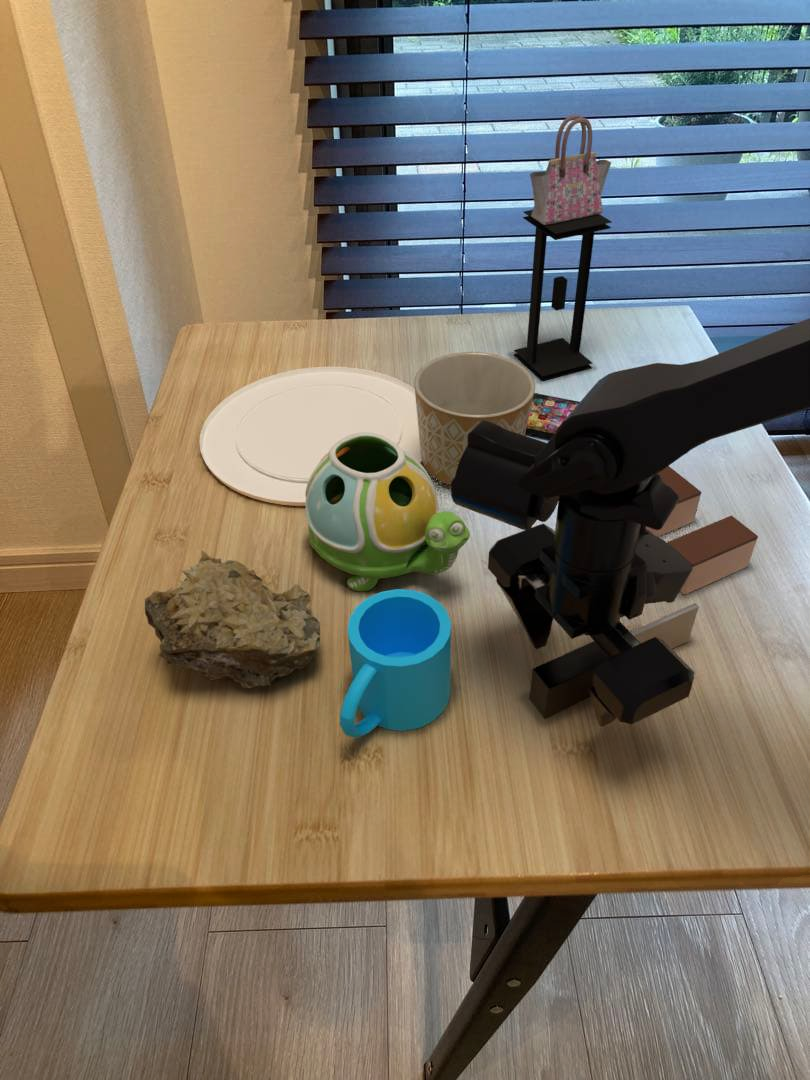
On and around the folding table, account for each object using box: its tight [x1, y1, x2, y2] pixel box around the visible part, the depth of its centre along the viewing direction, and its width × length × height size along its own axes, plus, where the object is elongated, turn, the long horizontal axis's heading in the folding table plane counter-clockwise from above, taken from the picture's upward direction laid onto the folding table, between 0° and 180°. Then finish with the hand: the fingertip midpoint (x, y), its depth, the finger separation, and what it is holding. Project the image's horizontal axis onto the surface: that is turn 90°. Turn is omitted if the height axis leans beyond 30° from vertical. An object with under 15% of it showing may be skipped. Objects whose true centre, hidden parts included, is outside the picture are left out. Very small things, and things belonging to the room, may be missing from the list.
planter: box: [413, 351, 536, 486], centre depth 92 cm, size 13×13×10 cm
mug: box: [339, 588, 452, 739], centre depth 68 cm, size 12×8×8 cm
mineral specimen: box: [144, 549, 321, 689], centre depth 73 cm, size 14×13×10 cm
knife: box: [528, 602, 700, 720], centre depth 71 cm, size 16×2×4 cm, turn 117°
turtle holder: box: [304, 432, 471, 592], centre depth 80 cm, size 12×18×12 cm
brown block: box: [666, 515, 759, 596], centre depth 80 cm, size 4×8×4 cm, turn 118°
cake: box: [646, 465, 702, 537], centre depth 87 cm, size 8×8×4 cm
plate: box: [199, 366, 423, 507], centre depth 100 cm, size 28×28×1 cm
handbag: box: [513, 114, 613, 382], centre depth 102 cm, size 10×8×30 cm
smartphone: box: [525, 392, 580, 439], centre depth 101 cm, size 8×1×15 cm
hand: (571, 683), depth 70 cm, fingers open, 9 cm apart
